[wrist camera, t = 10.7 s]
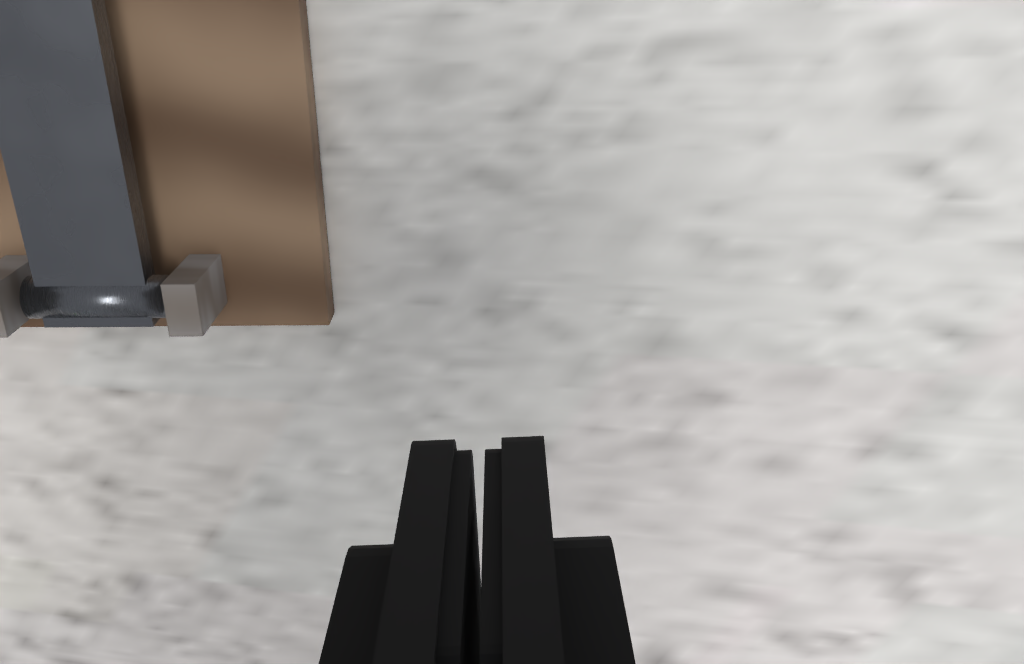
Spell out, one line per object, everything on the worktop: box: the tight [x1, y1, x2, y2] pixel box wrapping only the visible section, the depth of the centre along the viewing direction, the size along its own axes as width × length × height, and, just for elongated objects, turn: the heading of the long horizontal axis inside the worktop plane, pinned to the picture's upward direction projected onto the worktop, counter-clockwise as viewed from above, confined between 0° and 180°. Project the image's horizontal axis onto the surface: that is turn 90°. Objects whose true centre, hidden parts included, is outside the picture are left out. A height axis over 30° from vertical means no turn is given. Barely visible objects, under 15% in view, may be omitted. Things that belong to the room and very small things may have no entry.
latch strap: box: [0, 0, 169, 327], centre depth 29 cm, size 21×5×2 cm, turn 0°
